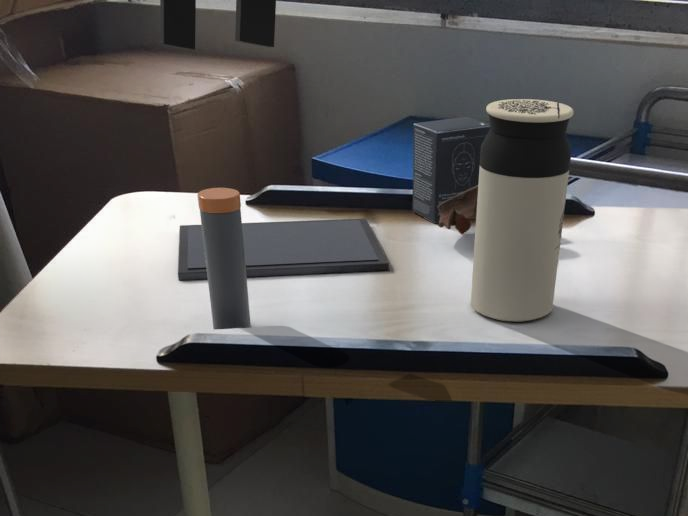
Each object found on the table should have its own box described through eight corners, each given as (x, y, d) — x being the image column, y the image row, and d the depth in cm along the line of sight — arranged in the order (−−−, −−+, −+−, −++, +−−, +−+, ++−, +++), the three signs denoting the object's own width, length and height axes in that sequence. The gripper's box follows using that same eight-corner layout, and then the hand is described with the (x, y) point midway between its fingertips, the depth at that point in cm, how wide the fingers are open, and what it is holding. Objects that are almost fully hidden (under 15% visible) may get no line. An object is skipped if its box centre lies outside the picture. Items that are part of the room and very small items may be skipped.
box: (462, 204, 115) (467, 115, 109) (487, 216, 111) (493, 124, 105) (410, 212, 112) (412, 121, 105) (433, 224, 108) (437, 131, 102)
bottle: (213, 336, 80) (197, 199, 73) (212, 321, 83) (197, 188, 76) (252, 334, 81) (240, 198, 73) (250, 319, 83) (238, 186, 76)
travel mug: (462, 318, 84) (475, 112, 74) (479, 289, 91) (493, 95, 80) (545, 328, 83) (570, 119, 72) (557, 298, 89) (581, 101, 78)
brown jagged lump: (481, 270, 96) (451, 197, 94) (445, 282, 105) (416, 214, 103) (567, 226, 100) (540, 154, 97) (525, 240, 108) (499, 174, 106)
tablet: (178, 280, 91) (177, 272, 90) (180, 232, 104) (179, 224, 103) (389, 270, 95) (389, 262, 94) (366, 224, 107) (366, 217, 107)
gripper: (370, -350, 53) (341, 51, 61) (195, -246, 71) (192, 54, 79) (257, -409, 49) (243, 32, 57) (101, -281, 66) (108, 40, 75)
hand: (213, 46), depth 68 cm, fingers open, 13 cm apart
